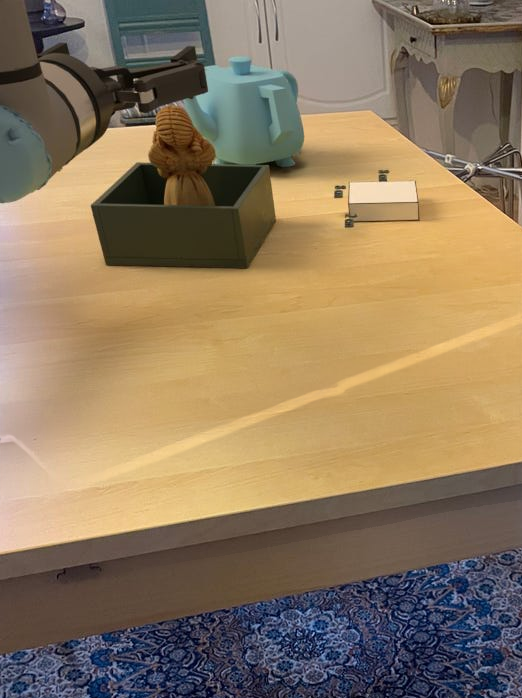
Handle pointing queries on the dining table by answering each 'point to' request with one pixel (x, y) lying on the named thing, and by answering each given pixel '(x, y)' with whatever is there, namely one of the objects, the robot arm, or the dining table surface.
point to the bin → (185, 219)
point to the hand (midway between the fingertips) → (130, 59)
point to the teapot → (249, 114)
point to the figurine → (181, 158)
